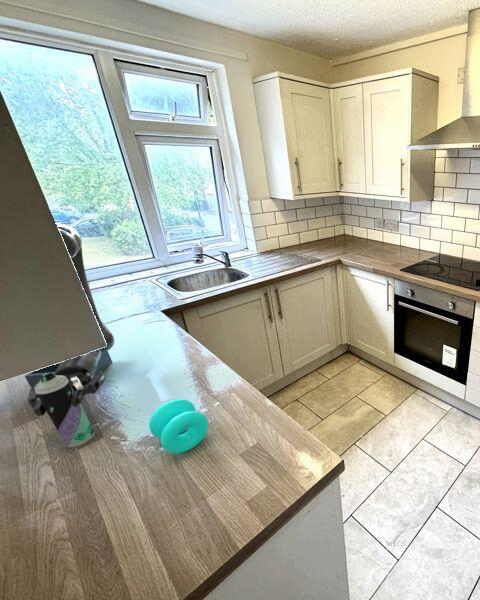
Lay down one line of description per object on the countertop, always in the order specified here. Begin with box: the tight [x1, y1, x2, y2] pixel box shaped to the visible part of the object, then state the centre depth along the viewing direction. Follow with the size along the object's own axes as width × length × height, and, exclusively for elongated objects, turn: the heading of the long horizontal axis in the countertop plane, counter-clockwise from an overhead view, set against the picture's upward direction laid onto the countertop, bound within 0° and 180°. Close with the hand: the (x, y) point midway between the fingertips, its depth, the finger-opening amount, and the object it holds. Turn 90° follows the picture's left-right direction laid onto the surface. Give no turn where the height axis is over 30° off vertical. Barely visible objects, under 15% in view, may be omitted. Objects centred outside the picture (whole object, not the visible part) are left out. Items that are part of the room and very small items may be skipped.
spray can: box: [34, 372, 95, 448], centre depth 78 cm, size 6×6×20 cm
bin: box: [24, 350, 113, 389], centre depth 104 cm, size 14×14×6 cm
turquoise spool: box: [148, 398, 209, 454], centre depth 80 cm, size 10×10×10 cm
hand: (57, 407), depth 76 cm, fingers closed on spray can, 5 cm apart
